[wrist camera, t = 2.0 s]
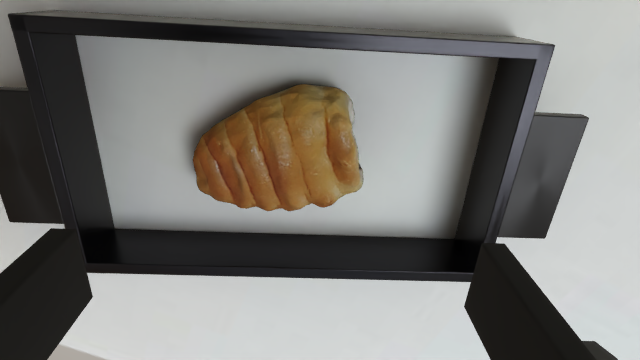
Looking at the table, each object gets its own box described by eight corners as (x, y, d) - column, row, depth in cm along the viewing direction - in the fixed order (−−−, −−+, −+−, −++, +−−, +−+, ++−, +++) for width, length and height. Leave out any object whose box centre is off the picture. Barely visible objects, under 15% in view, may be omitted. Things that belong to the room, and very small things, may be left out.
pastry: (220, 212, 24) (206, 248, 21) (179, 110, 22) (154, 131, 18) (367, 179, 24) (377, 210, 20) (344, 69, 21) (352, 83, 17)
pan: (61, 236, 25) (25, 271, 22) (-2, 7, 19) (-64, 9, 16) (502, 249, 26) (528, 283, 23) (567, 39, 20) (615, 48, 17)
